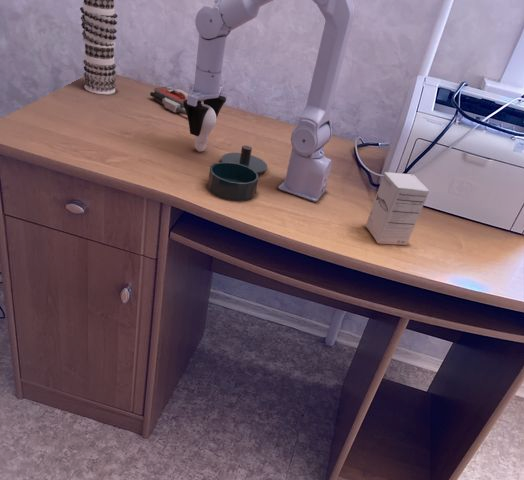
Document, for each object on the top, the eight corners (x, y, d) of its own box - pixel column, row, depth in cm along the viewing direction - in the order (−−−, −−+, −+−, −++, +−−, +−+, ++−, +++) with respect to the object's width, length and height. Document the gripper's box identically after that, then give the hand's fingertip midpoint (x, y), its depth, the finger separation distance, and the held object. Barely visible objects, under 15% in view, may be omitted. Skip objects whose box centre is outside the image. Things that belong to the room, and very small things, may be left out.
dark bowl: (262, 189, 119) (265, 172, 116) (244, 206, 111) (247, 188, 109) (220, 174, 121) (222, 157, 118) (199, 190, 113) (201, 172, 110)
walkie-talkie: (143, 99, 150) (195, 124, 142) (144, 82, 147) (197, 107, 140) (165, 96, 156) (216, 119, 148) (166, 80, 153) (218, 103, 146)
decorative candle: (110, 97, 146) (110, -9, 130) (77, 89, 145) (73, -18, 129) (121, 88, 153) (122, -13, 137) (89, 81, 152) (87, -22, 136)
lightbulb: (183, 152, 127) (187, 104, 120) (192, 144, 131) (196, 98, 124) (207, 158, 126) (213, 111, 119) (215, 150, 131) (221, 104, 124)
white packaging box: (364, 226, 115) (383, 170, 106) (394, 228, 117) (415, 173, 109) (376, 244, 109) (397, 187, 101) (407, 245, 112) (431, 190, 103)
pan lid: (273, 167, 130) (276, 148, 127) (256, 181, 122) (259, 161, 119) (232, 153, 132) (235, 134, 129) (212, 166, 124) (215, 146, 121)
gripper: (207, 59, 123) (200, 118, 132) (177, 69, 112) (172, 133, 121) (234, 67, 122) (226, 127, 131) (206, 78, 111) (199, 142, 120)
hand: (202, 130), depth 126 cm, fingers open, 7 cm apart
